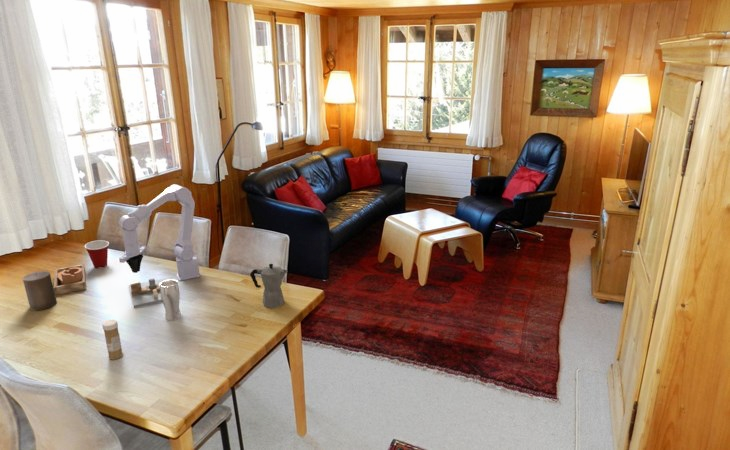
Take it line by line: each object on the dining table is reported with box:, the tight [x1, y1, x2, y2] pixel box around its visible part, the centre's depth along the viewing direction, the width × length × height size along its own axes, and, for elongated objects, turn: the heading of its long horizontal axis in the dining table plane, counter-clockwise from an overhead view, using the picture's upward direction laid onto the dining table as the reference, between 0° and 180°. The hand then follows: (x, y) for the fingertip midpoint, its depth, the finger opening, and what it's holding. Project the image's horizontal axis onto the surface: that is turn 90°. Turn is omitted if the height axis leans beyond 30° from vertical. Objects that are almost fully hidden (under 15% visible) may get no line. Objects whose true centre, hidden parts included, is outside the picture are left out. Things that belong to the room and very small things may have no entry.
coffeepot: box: [249, 263, 288, 309], centre depth 204 cm, size 15×9×18 cm, turn 92°
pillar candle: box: [22, 270, 58, 311], centre depth 203 cm, size 10×10×15 cm
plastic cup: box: [84, 239, 110, 269], centre depth 242 cm, size 11×11×12 cm
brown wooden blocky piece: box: [130, 281, 160, 295], centre depth 213 cm, size 11×5×4 cm, turn 119°
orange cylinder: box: [57, 267, 83, 286], centre depth 225 cm, size 18×8×7 cm, turn 46°
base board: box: [128, 276, 173, 309], centre depth 215 cm, size 18×22×6 cm
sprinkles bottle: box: [101, 319, 124, 361], centre depth 167 cm, size 5×5×13 cm
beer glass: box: [160, 279, 182, 322], centre depth 193 cm, size 7×7×15 cm
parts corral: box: [53, 264, 87, 296], centre depth 226 cm, size 12×23×4 cm, turn 29°
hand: (136, 271), depth 215 cm, fingers closed
